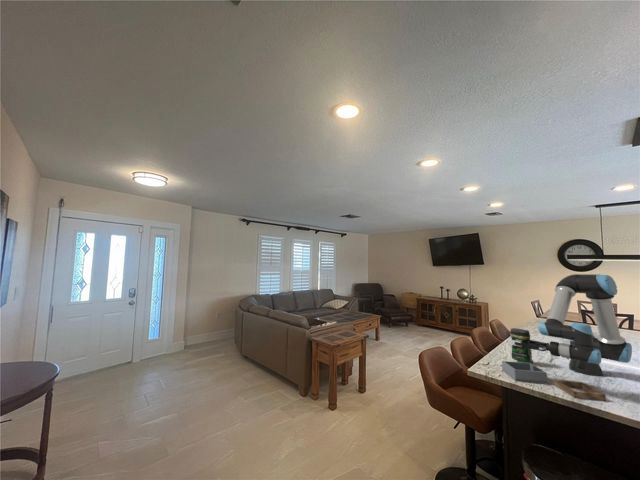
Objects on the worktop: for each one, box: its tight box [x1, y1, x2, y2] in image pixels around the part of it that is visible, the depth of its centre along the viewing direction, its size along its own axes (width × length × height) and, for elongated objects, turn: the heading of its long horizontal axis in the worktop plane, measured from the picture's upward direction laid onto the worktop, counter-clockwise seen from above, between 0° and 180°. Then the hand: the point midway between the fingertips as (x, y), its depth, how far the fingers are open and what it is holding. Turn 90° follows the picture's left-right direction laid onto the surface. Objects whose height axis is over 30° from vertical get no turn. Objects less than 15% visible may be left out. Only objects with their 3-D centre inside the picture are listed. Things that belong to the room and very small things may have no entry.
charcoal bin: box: [501, 360, 548, 384], centre depth 155 cm, size 16×16×6 cm
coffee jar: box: [509, 327, 533, 363], centre depth 157 cm, size 10×8×19 cm
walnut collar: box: [553, 379, 607, 402], centre depth 134 cm, size 13×15×3 cm
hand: (511, 340), depth 160 cm, fingers closed on coffee jar, 8 cm apart
